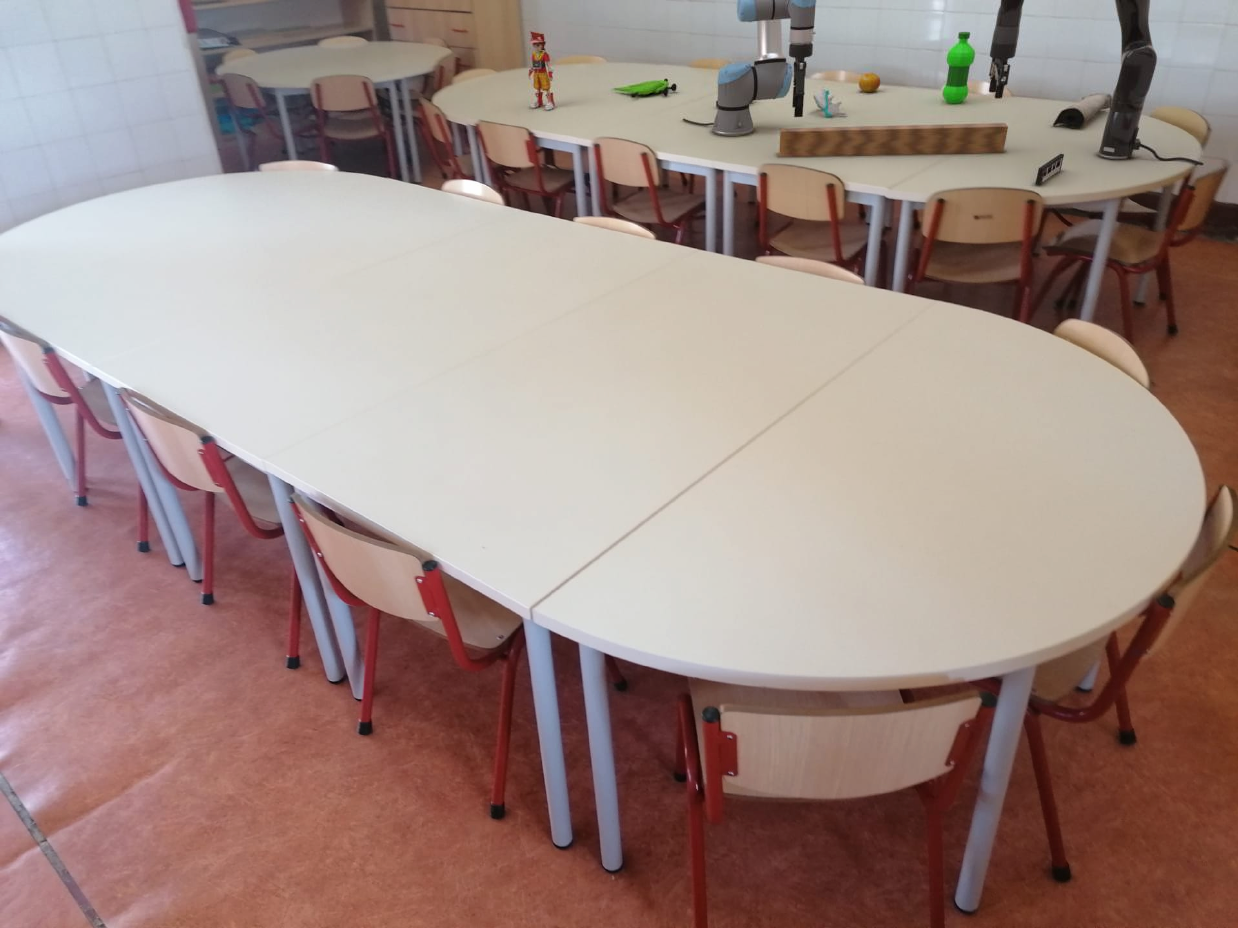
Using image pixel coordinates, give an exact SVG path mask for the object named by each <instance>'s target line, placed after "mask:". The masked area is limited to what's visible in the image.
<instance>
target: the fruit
mask: <svg viewBox="0 0 1238 928" xmlns="http://www.w3.org/2000/svg"><path fill="white" fill-rule="evenodd" d="M880 85H881V78H880V76H879V75H878V74H876V73H873V72H869V73H864V74H863V75H862V76H860V78H859V80H858V88H859V89H860V90H861V91H862V92H864V93H873V92H875V91H877V90H878V89H879V87H880Z"/></svg>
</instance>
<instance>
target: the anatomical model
mask: <svg viewBox="0 0 1238 928" xmlns="http://www.w3.org/2000/svg"><path fill="white" fill-rule="evenodd" d="M829 95H830V91H829V90H828V89H827V87H824V86H823V87H822V88H821V90H819V92H815V93H814V94H813V99H814V101H815V104H816V107H817V108H818V109H820V110H822V111H823V112H824V115H825V116H826V117H827V118H833V117H835V116H845V115H846V111H845V110H844V111H843V110H841V109H840V106H841V104H843V102H842V101H841V100H839V101H837V102H835V103H832V100H833V99H834V97H835V95H834V94H833V95H831V96H829Z"/></svg>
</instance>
